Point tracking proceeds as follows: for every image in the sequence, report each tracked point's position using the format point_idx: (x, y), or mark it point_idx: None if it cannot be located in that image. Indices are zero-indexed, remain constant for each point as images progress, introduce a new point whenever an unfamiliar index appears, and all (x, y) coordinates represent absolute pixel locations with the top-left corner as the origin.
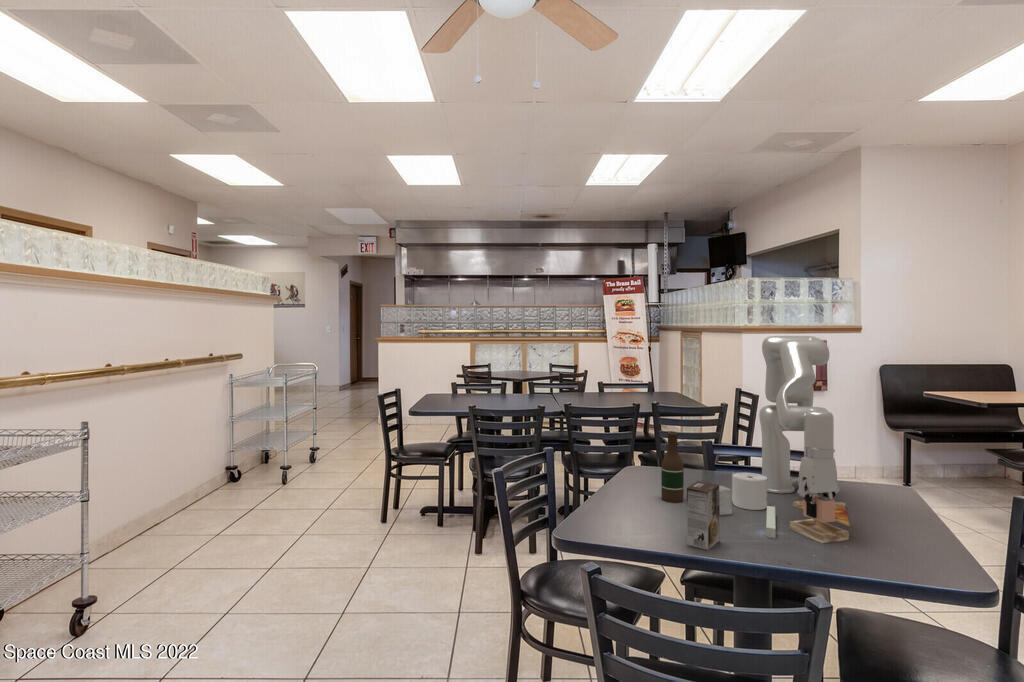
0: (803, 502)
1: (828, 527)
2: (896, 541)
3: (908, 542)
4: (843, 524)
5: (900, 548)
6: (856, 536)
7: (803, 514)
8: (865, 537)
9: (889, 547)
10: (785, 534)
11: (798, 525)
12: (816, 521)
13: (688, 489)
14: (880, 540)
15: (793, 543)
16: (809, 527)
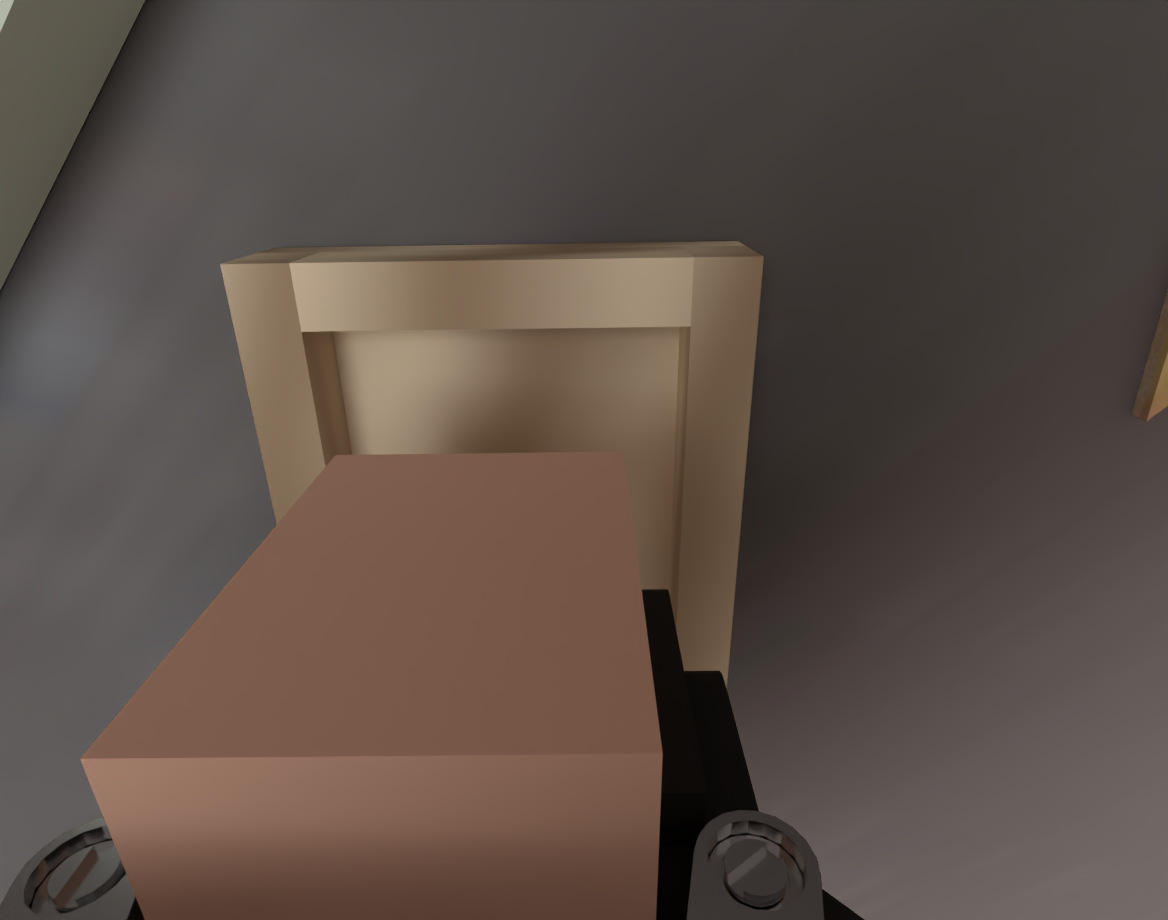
0: (219, 605)
1: (674, 544)
2: (1094, 818)
3: (1162, 854)
4: (1164, 316)
5: (942, 912)
6: (876, 651)
7: (330, 470)
8: (935, 691)
9: (880, 883)
10: (102, 399)
11: (262, 439)
12: (689, 345)
13: None
14: (986, 773)
15: (58, 631)
16: (515, 371)
